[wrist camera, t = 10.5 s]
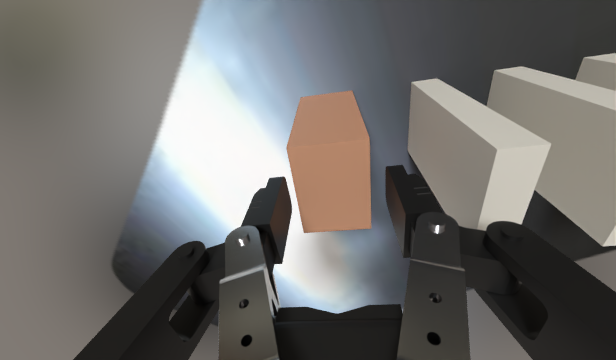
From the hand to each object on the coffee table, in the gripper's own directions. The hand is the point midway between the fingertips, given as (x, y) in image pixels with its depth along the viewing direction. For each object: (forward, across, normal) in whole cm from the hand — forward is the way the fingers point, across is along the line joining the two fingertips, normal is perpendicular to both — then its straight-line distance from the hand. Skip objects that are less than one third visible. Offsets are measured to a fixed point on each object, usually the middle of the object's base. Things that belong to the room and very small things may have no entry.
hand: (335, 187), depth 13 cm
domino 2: (+7, -6, 0) cm, 10 cm away
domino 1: (+7, 0, 0) cm, 7 cm away
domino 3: (+7, -11, 0) cm, 13 cm away
